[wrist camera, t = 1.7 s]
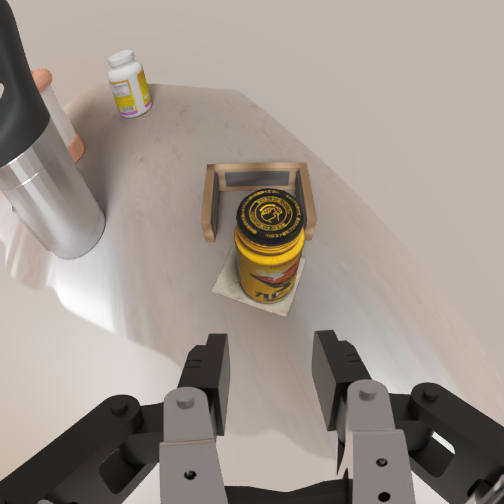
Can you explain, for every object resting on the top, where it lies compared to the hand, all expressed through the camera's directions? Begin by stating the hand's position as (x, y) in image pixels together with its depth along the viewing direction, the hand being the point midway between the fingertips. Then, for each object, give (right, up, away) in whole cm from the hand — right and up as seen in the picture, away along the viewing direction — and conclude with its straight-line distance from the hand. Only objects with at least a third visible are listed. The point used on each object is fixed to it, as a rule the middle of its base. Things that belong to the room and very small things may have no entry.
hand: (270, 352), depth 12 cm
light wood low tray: (0, +9, +26) cm, 28 cm away
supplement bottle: (-23, +32, +41) cm, 57 cm away
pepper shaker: (-34, +21, +35) cm, 53 cm away
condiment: (0, +1, +22) cm, 22 cm away
